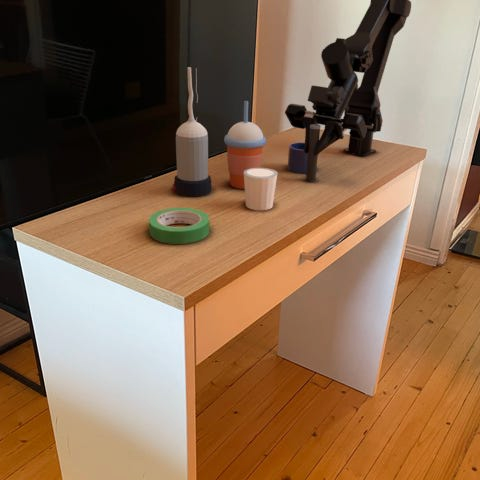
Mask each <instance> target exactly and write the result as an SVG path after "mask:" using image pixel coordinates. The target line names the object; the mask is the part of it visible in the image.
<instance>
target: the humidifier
mask: <svg viewBox="0 0 480 480" xmlns="http://www.w3.org/2000/svg"><path fill="white" fill-rule="evenodd" d="M197 73H198V72H197V67H196V68H195V88H197V87H198V85H197V84H198V81H197V78H198V77H197V75H198V74H197ZM187 91H188V100H187V111H188V119H187V121H185V122H184V123H182V124H181V125H180V126H178V128H177V130H176V132H175V154H176V155H175V156H176V175H175V176H174V181H173V182H174V183H173V184H172V190H173V192H174V193H175V194H176V195H178V196H182V197H187V198H198V197H199V198H200V197H205V196H207V195H210V194H211V193H212V176H210V175H209V135H208V131H207V128H206V127H204V126H203V125H202V124H201V123H199V122H198V121H197V120H198V118H196V119H195V117H194V111H193V101H194V91H193V79H192V67H190V66H188V67H187ZM195 92H196V93H195V94H196V102H198V100H199V95H198V92H197V90H195Z"/></svg>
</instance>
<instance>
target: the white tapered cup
mask: <svg viewBox="0 0 480 480" xmlns="http://www.w3.org/2000/svg"><path fill="white" fill-rule="evenodd" d="M277 179H278V172H277V170H275V169H272V168H267V167H261V168H250V169H247V170H245V171H244V186H245V189H244V198H245V200H244V201H245V207H246V208H248V209H250V210H254V211H267V210H270V209H272V208H273V207H274V200H275V194H276V187H277V181H278V180H277Z"/></svg>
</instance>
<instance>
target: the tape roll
mask: <svg viewBox="0 0 480 480" xmlns="http://www.w3.org/2000/svg"><path fill="white" fill-rule="evenodd" d="M175 224H186V226H170V225H175ZM187 225H188V226H187ZM148 230H149V235H150V237H151V238H152V239H154V240H155V241H157V242H160V243H164V244H169V245H186V244H193V243H195V242H199V241H201V240H204V239H205V238H206V237H208V235H209V234H210V217H209V215H208V214H207V213H206V212H204V211H202V210H200V209H196V208H192V207H171V208H165V209H162V210H159V211H156V212H154V213H153V214H151V215H150V216H149V219H148Z"/></svg>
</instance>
